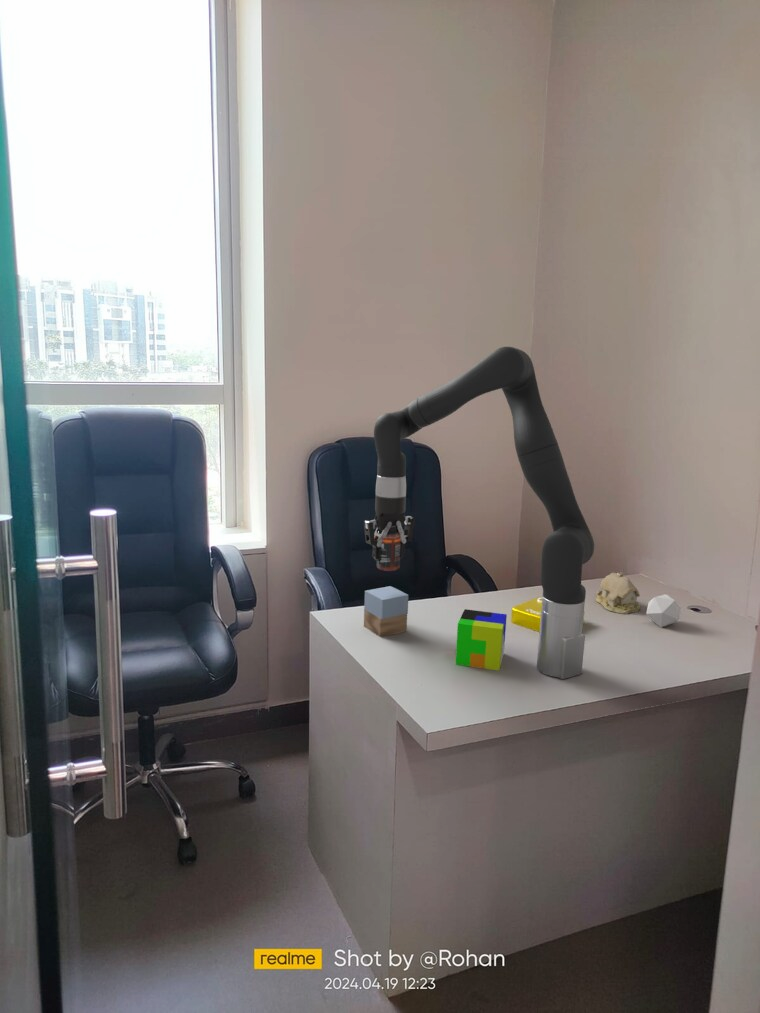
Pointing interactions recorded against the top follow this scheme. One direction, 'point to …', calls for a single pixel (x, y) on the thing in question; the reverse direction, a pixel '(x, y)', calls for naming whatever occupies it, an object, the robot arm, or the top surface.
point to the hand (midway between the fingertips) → (388, 558)
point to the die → (663, 610)
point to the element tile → (528, 614)
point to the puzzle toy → (481, 639)
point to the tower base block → (385, 624)
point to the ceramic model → (618, 594)
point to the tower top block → (386, 602)
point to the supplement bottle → (390, 551)
